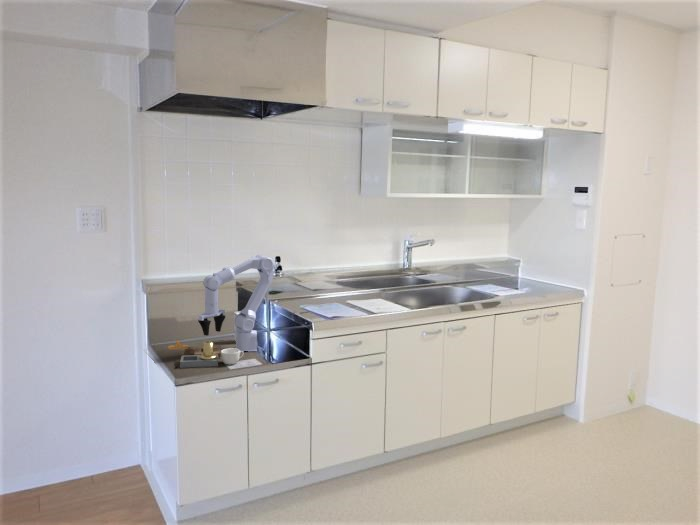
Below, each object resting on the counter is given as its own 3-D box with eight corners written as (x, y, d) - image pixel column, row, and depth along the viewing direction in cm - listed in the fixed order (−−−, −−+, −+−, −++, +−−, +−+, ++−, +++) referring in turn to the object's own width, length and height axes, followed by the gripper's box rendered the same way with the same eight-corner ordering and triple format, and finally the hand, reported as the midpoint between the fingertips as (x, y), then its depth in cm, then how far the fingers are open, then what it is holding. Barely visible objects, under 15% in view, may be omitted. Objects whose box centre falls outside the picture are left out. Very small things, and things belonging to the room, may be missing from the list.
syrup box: (236, 343, 271) (236, 313, 269) (233, 340, 277) (233, 311, 275) (248, 342, 274) (248, 313, 271) (245, 339, 279) (245, 310, 277)
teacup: (225, 367, 238) (225, 354, 237) (217, 362, 244) (217, 350, 243) (247, 363, 244) (247, 350, 243) (239, 358, 250) (239, 346, 249)
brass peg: (213, 359, 247) (212, 339, 246) (219, 364, 241) (219, 343, 240) (197, 362, 243) (197, 341, 241) (203, 367, 237) (203, 345, 236)
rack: (218, 359, 247) (218, 354, 247) (217, 366, 239) (217, 360, 238) (181, 361, 244) (181, 355, 243) (180, 367, 236) (180, 361, 235)
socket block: (220, 351, 259) (220, 343, 258) (220, 358, 248) (220, 350, 248) (186, 352, 256) (185, 344, 255) (184, 360, 245) (184, 352, 245)
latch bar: (187, 347, 251) (187, 340, 251) (187, 348, 249) (187, 341, 249) (168, 347, 250) (168, 341, 249) (168, 349, 247) (168, 342, 247)
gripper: (207, 307, 243) (207, 338, 245) (229, 301, 256) (230, 330, 258) (194, 305, 247) (195, 335, 249) (217, 299, 259) (218, 328, 261)
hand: (212, 333), depth 254 cm, fingers open, 7 cm apart
